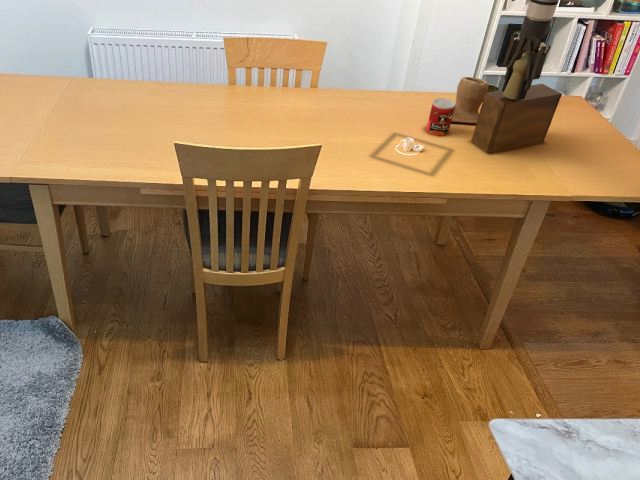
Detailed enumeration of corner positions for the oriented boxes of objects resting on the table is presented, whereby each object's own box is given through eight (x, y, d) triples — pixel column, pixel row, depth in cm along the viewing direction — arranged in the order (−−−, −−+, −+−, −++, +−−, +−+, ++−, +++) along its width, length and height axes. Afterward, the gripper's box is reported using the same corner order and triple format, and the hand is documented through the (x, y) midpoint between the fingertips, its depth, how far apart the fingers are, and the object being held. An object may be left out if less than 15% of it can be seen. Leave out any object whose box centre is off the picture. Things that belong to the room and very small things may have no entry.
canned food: (426, 136, 204) (434, 106, 196) (424, 126, 210) (432, 96, 202) (449, 138, 203) (457, 108, 196) (446, 128, 209) (454, 98, 202)
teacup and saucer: (424, 150, 196) (427, 138, 193) (416, 159, 191) (419, 148, 188) (400, 142, 199) (402, 131, 197) (391, 152, 194) (393, 140, 191)
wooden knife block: (568, 78, 187) (547, 68, 193) (509, 87, 180) (490, 77, 186) (542, 144, 202) (524, 133, 208) (487, 155, 195) (470, 143, 201)
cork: (502, 97, 184) (513, 62, 177) (502, 90, 188) (513, 55, 181) (522, 100, 183) (534, 65, 175) (522, 93, 187) (534, 58, 180)
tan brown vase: (478, 114, 219) (490, 74, 209) (484, 128, 210) (496, 87, 200) (437, 111, 220) (447, 71, 210) (441, 124, 211) (452, 84, 201)
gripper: (573, 26, 165) (543, 105, 180) (525, 7, 178) (501, 82, 193) (552, 28, 162) (525, 108, 178) (505, 9, 175) (483, 85, 191)
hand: (513, 94), depth 185 cm, fingers closed on cork, 6 cm apart
